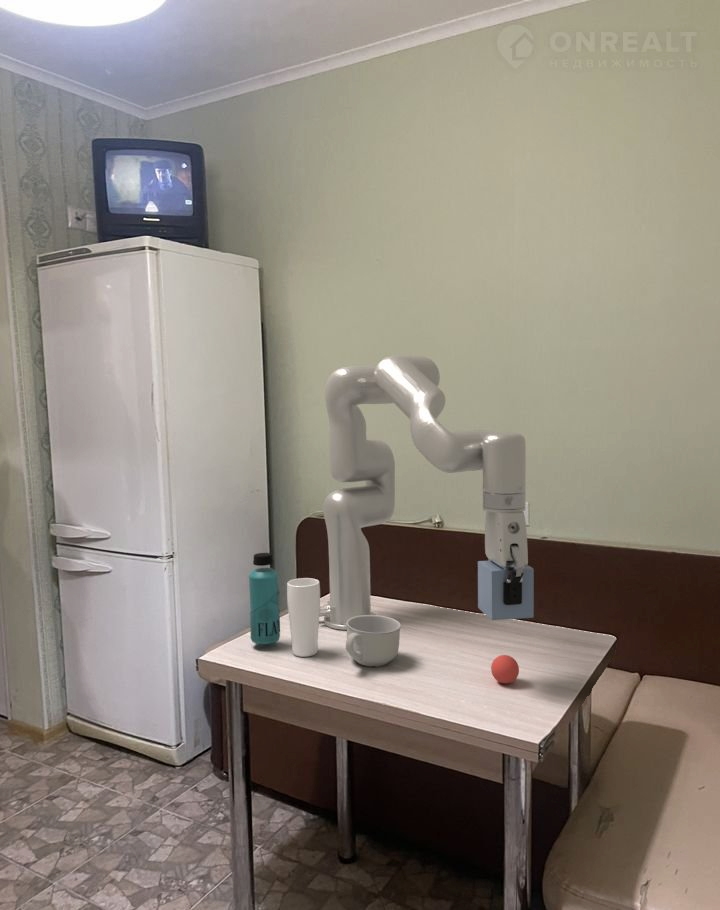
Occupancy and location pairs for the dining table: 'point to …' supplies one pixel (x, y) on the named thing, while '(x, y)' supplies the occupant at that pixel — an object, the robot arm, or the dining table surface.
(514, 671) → the ball
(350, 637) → the teacup
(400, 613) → the dining table surface
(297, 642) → the drinking glass
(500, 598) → the pale blue cube
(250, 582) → the beverage bottle
